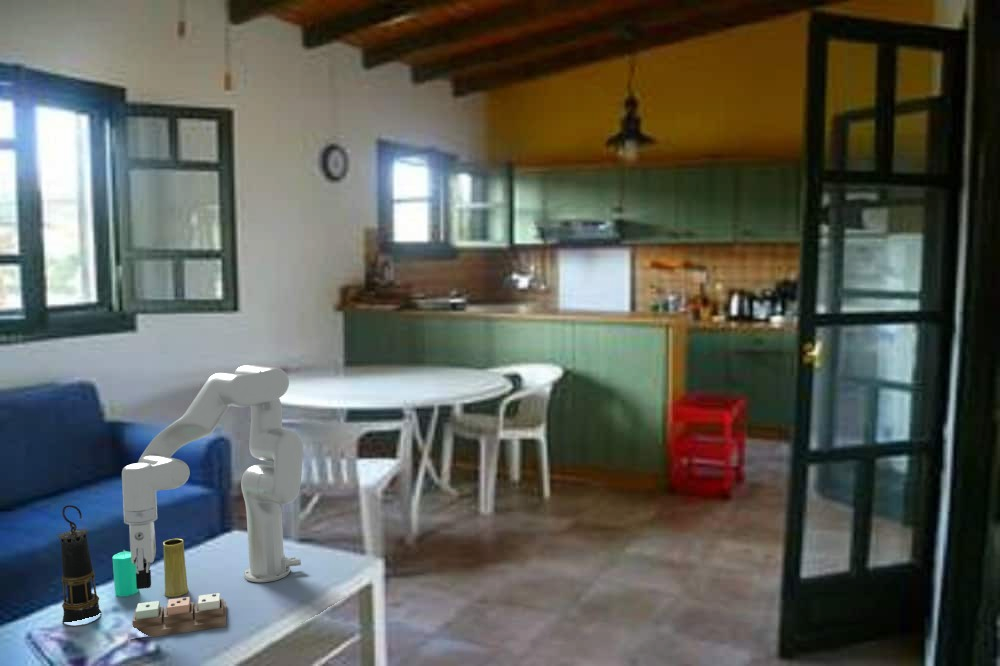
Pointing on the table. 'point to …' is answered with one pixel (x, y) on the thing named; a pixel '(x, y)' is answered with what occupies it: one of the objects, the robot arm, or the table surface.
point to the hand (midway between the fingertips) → (144, 587)
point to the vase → (174, 568)
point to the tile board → (182, 621)
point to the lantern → (77, 574)
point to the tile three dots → (178, 606)
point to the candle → (124, 574)
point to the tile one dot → (147, 610)
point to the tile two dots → (209, 602)
